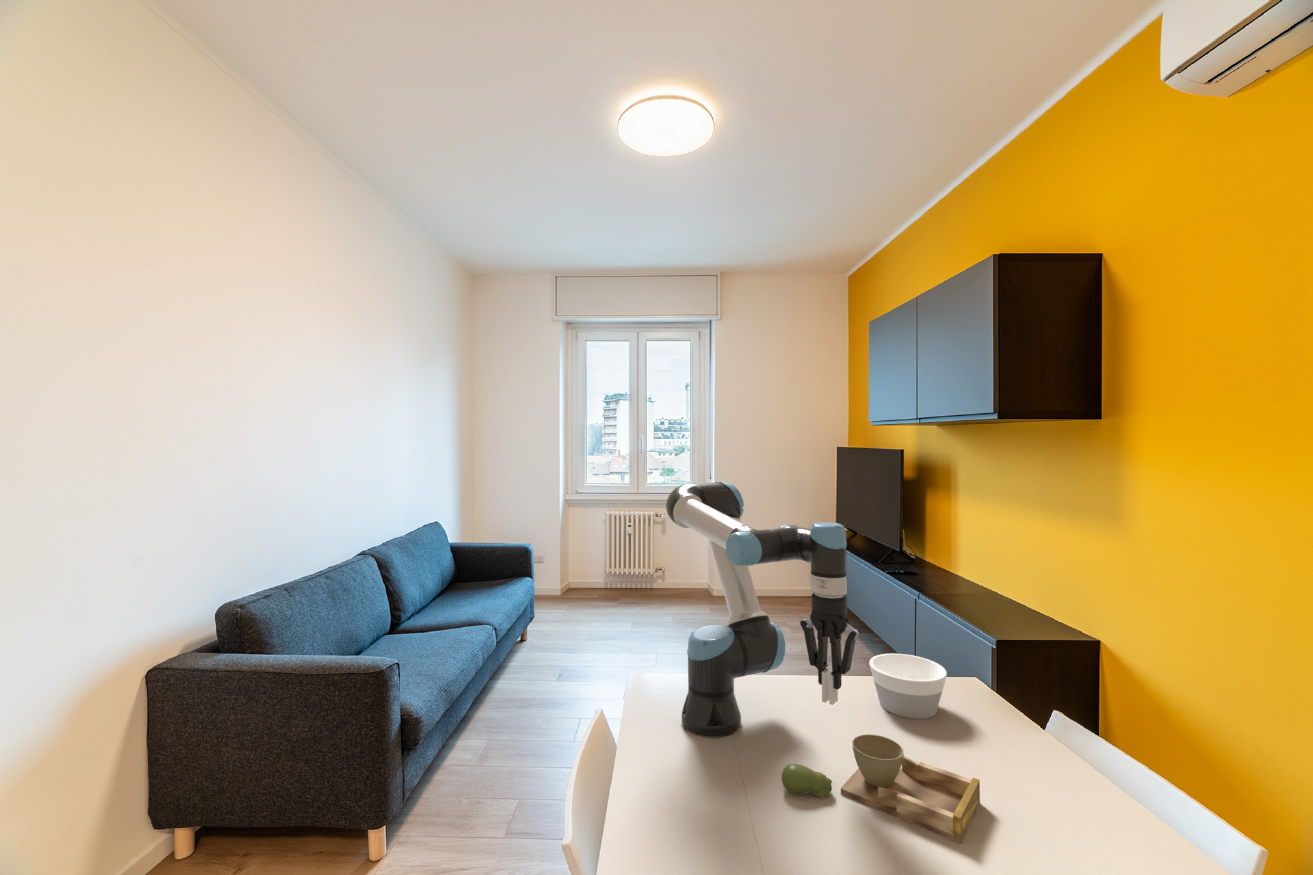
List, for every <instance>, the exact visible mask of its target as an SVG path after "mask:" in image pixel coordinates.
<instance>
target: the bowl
mask: <svg viewBox="0 0 1313 875" xmlns="http://www.w3.org/2000/svg"><path fill="white" fill-rule="evenodd" d="M868 663H869V667H870V671H871V675H872V678H873V679H872V680H873V682H874V686H875V691H876V694H877V697H878V701H879V704H880V706H881V707H882V708H883V709H884V710H886V711H887V712H889V713H891V714H892V715H893V714H894V715H896V716H900V717H903V718H909V719H915V720H916V719H918V720H919V719H921V720H922V719H928V718H932V717H934V716H936V714H937V712H938V709H939V705H940V700H941V697H942V695H943V694H942V693H943V690H944V687H945V683H946V679H947V676H948V673H947V670H946V668H945V667H943V666H942V665H941V664H939V663H937V662H936V661H933V660H931V659H928V658H925V657H922V656H917V655H913V654H905V653H904V654H903V653H884V654H883V653H882V654H877V655H875V656H873V657H871V658H870V660H869V661H868Z"/></svg>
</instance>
